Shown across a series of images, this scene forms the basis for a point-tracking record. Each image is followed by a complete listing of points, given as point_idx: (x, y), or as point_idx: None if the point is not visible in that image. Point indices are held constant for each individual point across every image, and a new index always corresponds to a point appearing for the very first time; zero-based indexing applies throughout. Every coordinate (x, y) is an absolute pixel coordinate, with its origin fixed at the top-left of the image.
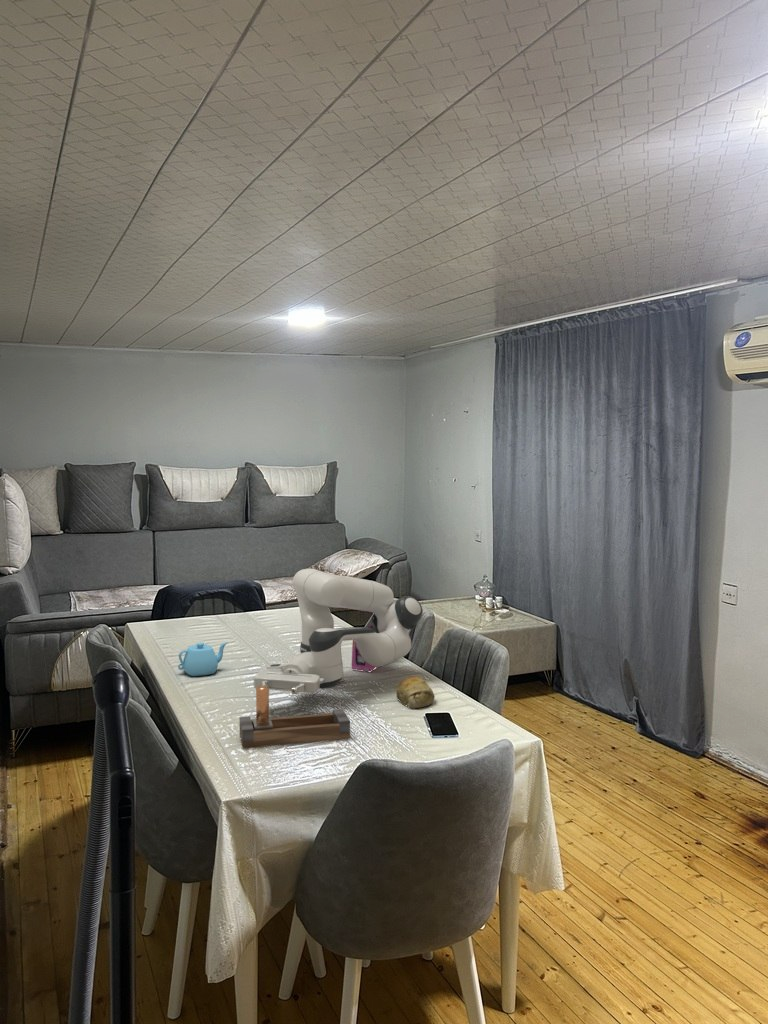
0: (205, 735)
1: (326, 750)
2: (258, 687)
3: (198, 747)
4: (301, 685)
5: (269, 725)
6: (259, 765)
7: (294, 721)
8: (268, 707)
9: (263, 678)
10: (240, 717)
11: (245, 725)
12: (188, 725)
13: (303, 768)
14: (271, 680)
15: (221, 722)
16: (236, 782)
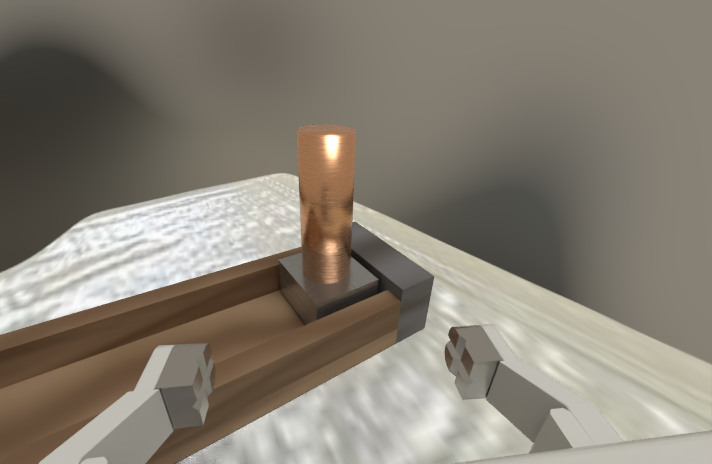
0: (510, 297)
1: (81, 305)
2: (346, 130)
3: (454, 249)
4: (79, 436)
5: (290, 257)
6: (273, 224)
7: None
8: (300, 215)
9: (649, 438)
10: (429, 275)
11: (366, 240)
12: (646, 340)
13: (168, 231)
14: (534, 457)
15: (595, 404)
16: (291, 191)
